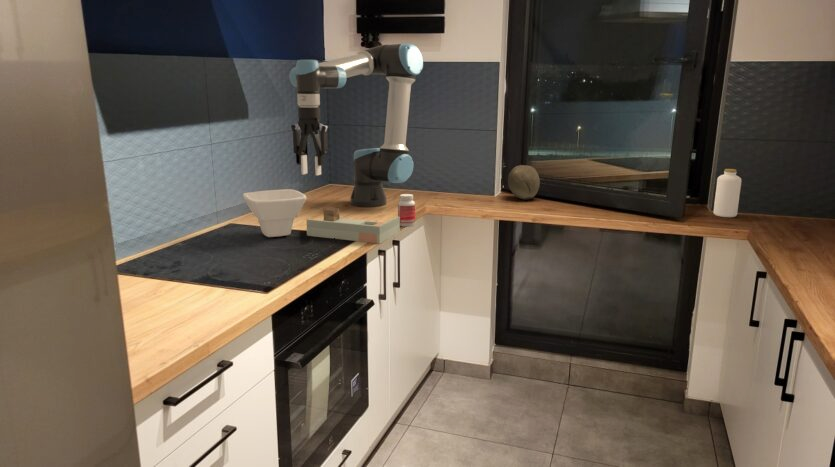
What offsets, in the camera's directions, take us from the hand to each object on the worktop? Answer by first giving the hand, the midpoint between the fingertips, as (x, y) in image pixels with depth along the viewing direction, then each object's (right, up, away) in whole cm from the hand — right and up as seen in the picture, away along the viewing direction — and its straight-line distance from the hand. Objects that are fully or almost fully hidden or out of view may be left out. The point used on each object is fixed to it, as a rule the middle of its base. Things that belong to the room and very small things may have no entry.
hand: (311, 174), depth 219 cm
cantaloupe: (+83, -6, +55) cm, 100 cm away
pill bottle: (+33, -18, +7) cm, 38 cm away
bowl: (-10, -22, -9) cm, 26 cm away
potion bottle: (+157, -14, +24) cm, 159 cm away
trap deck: (+15, -21, -6) cm, 27 cm away
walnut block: (+7, -16, +1) cm, 17 cm away
